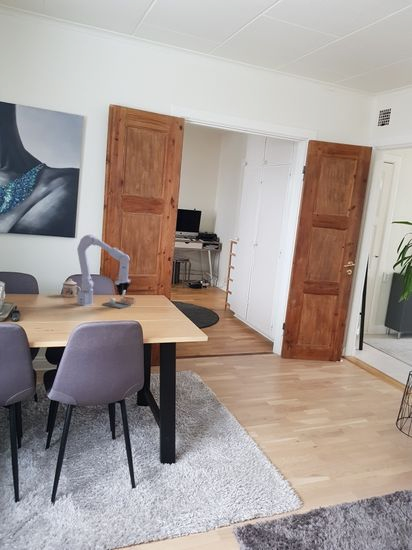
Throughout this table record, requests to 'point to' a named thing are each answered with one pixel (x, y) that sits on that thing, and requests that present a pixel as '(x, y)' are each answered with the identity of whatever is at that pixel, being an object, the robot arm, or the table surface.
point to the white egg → (123, 294)
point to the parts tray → (117, 305)
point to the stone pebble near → (112, 301)
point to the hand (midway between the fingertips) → (122, 294)
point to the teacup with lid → (70, 288)
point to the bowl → (128, 300)
